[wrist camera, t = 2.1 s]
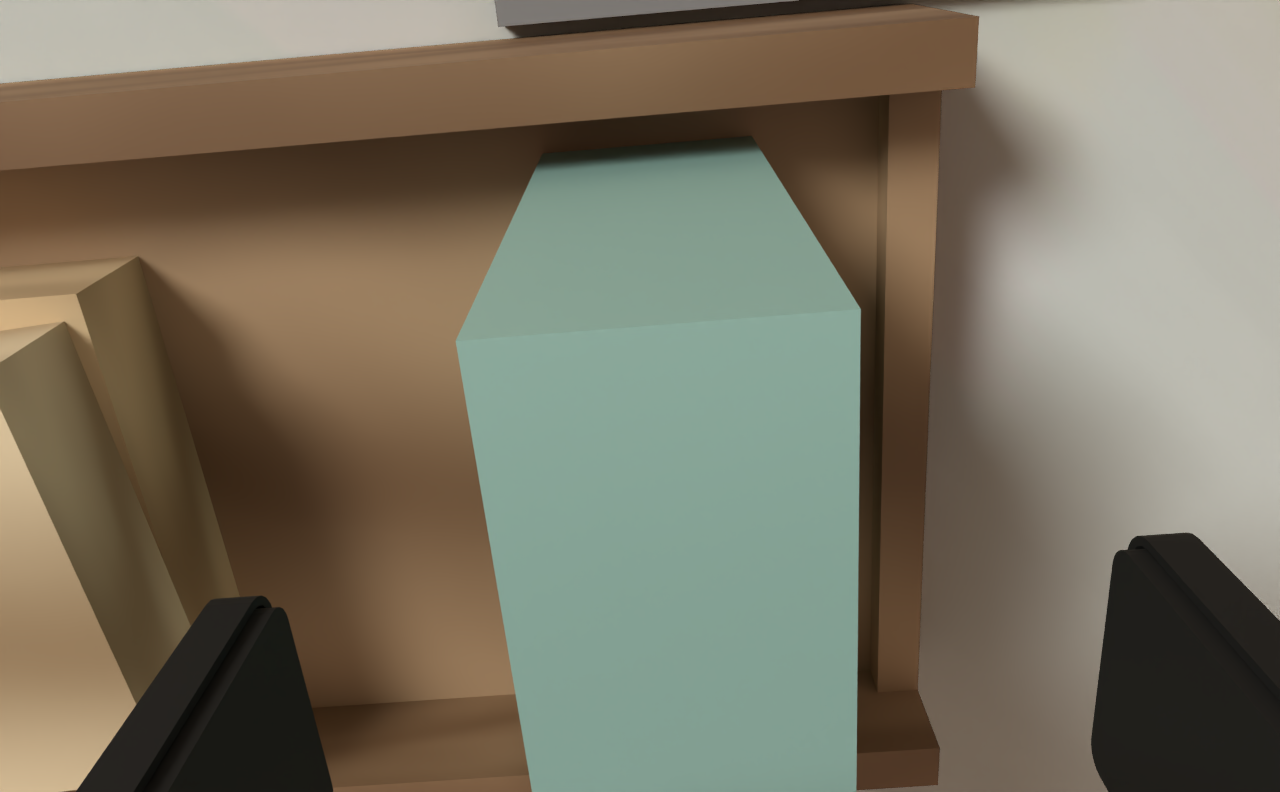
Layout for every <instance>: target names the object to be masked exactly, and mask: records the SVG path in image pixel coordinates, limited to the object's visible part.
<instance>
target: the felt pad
mask: <svg viewBox="0 0 1280 792" xmlns="http://www.w3.org/2000/svg"><path fill="white" fill-rule="evenodd" d="M785 1H797V0H495V6H496V13H497V21H498V27H503V26H514V25H525V24H537V23H548V22H559V21H571V20H582V19H593V18H604V17H616V16H627V15H638V14H650V13H661V12H672V11H684V10H695V9H706V8H717V7H729V6H740V5H751V4H763V3H774V2H785Z"/></svg>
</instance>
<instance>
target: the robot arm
mask: <svg viewBox="0 0 1280 792" xmlns="http://www.w3.org/2000/svg"><path fill="white" fill-rule="evenodd" d="M1091 746H1092V754H1093V759H1094V763H1095V766H1096V769H1097V771H1098V773H1099V776H1100V777H1101V779H1102V781H1103V783H1104V785H1105V786H1106V788H1107V790H1108V792H1280V621H1279V620H1278V619H1277V618H1276V617H1275V616H1274V615H1273V614H1272V613H1271V612H1270V611H1269V610H1268V609H1267V608H1266V606H1265V605H1264V604H1263V603H1262V602H1261V601H1260V600H1259V599H1258V598H1257V597H1256V596H1255V595H1254V594H1253V593H1252V592H1251V591H1250V590H1249V589H1248V588H1247V587H1246V586H1245V585H1244V584H1243V583H1242V582H1241V581H1240V580H1239V579H1238V578H1237V577H1236V576H1235V575H1234V574H1233V573H1232V572H1231V571H1230V570H1229V569H1228V568H1227V567H1226V566H1225V565H1224V564H1223V563H1222V562H1221V561H1220V560H1219V559H1218V558H1217V557H1216V556H1215V555H1214V554H1213V553H1212V552H1211V550H1210V549H1209V548H1208V547H1207V546H1206V545H1205V544H1204V543H1203V542H1202V541H1201V540H1200V539H1199V538H1197V537H1196V536H1195V535H1193V534H1191V533H1175V534H1161V535H1146V536H1137V537H1135V538H1133V539H1132V541H1131V542H1130V544H1129V547H1128V550H1120V551H1118V552H1117V553H1116V555H1115V556H1114V560H1113V565H1112V573H1111V581H1110V589H1109V598H1108V606H1107V614H1106V622H1105V631H1104V639H1103V647H1102V655H1101V663H1100V672H1099V680H1098V688H1097V696H1096V705H1095V713H1094V721H1093V729H1092V738H1091ZM76 792H333V786H332V782H331V778H330V774H329V770H328V766H327V763H326V759H325V755H324V751H323V748H322V744H321V740H320V736H319V733H318V729H317V725H316V721H315V718H314V714H313V710H312V706H311V702H310V699H309V695H308V691H307V687H306V684H305V680H304V676H303V672H302V669H301V665H300V661H299V657H298V654H297V650H296V646H295V642H294V638H293V635H292V631H291V627H290V623H289V620H288V617H287V614H286V612H285V611H284V609H283V608H281V607H272V606H271V603H270V602H269V600H268V599H267V598H266V597H264V596H262V595H261V596H246V597H232V598H217V599H213V600H210V601H209V602H208V603H207V604H206V605H205V607H204V608H203V610H202V611H201V613H200V614H199V615H198V617H197V618H196V620H195V621H194V623H193V624H192V625H191V627H190V628H189V630H188V631H187V633H186V634H185V635H184V637H183V638H182V640H181V641H180V643H179V644H178V646H177V647H176V648H175V650H174V651H173V653H172V654H171V656H170V657H169V658H168V660H167V661H166V663H165V664H164V666H163V667H162V669H161V670H160V671H159V673H158V674H157V676H156V677H155V679H154V680H153V681H152V683H151V684H150V686H149V687H148V689H147V690H146V692H145V693H144V694H143V696H142V697H141V699H140V700H139V702H138V703H137V704H136V706H135V707H134V709H133V710H132V712H131V713H130V714H129V716H128V717H127V719H126V720H125V722H124V723H123V725H122V726H121V727H120V729H119V730H118V732H117V733H116V735H115V736H114V737H113V739H112V740H111V742H110V743H109V745H108V746H107V748H106V749H105V750H104V752H103V753H102V755H101V756H100V758H99V759H98V760H97V762H96V763H95V765H94V766H93V768H92V769H91V771H90V772H89V773H88V775H87V776H86V778H85V779H84V781H83V782H82V783H81V785H80V786H79V788H78V789H77V791H76Z"/></svg>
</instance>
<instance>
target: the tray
mask: <svg viewBox="0 0 1280 792" xmlns="http://www.w3.org/2000/svg"><path fill="white" fill-rule="evenodd" d="M978 25H979V16H973V15H968V14H963V13H957V12H952V11H947V10H942V9H936V8H931V7H926V6H920V5H915V4H899V5H888V6H876V7H865V8H854V9H842V10H831V11H820V12H808V13H797V14H786V15H774V16H763V17H752V18H740V19H729V20H717V21H706V22H695V23H683V24H672V25H661V26H649V27H638V28H627V29H615V30H604V31H593V32H581V33H570V34H558V35H547V36H536V37H524V38H513V39H502V40H490V41H479V42H468V43H456V44H445V45H434V46H422V47H411V48H400V49H388V50H377V51H365V52H354V53H343V54H331V55H320V56H309V57H297V58H286V59H275V60H263V61H252V62H241V63H229V64H218V65H206V66H195V67H184V68H172V69H161V70H150V71H138V72H127V73H116V74H104V75H93V76H82V77H70V78H59V79H48V80H36V81H25V82H13V83H2V84H0V267H10V266H22V265H35V264H47V263H59V262H71V261H83V260H95V259H107V258H120V257H132V256H138V257H139V261H140V264H141V267H142V271H143V274H144V277H145V281H146V284H147V287H148V291H149V294H150V297H151V301H152V304H153V307H154V311H155V314H156V317H157V321H158V324H159V328H160V331H161V334H162V338H163V341H164V344H165V348H166V351H167V354H168V358H169V361H170V364H171V368H172V371H173V374H174V378H175V381H176V385H177V388H178V391H179V395H180V398H181V401H182V405H183V408H184V411H185V415H186V418H187V421H188V425H189V428H190V431H191V435H192V438H193V441H194V445H195V448H196V452H197V455H198V458H199V462H200V465H201V468H202V472H203V475H204V478H205V482H206V485H207V488H208V492H209V495H210V498H211V502H212V505H213V509H214V512H215V515H216V519H217V522H218V525H219V529H220V532H221V535H222V539H223V542H224V545H225V549H226V552H227V555H228V559H229V562H230V565H231V569H232V572H233V576H234V579H235V582H236V586H237V589H238V592H239V596H240V597H246V596H261V595H262V596H264V597H266V598H267V599H268V600H269V602H270V603H271V606H272V607H281V608H283V609H284V611H285V612H286V614H287V617H288V620H289V623H290V627H291V631H292V635H293V638H294V642H295V646H296V650H297V654H298V657H299V661H300V665H301V669H302V672H303V676H304V680H305V684H306V687H307V691H308V695H309V699H310V702H311V706H312V710H313V714H314V718H315V721H316V725H317V729H318V733H319V736H320V740H321V744H322V748H323V751H324V755H325V759H326V763H327V766H328V770H329V774H330V778H331V782H332V786H333V792H532V789H531V783H530V777H529V771H528V765H527V759H526V753H525V747H524V742H523V736H522V730H521V724H520V718H519V712H518V706H517V700H516V694H515V689H514V683H513V677H512V671H511V665H510V659H509V653H508V647H507V641H506V635H505V630H504V624H503V618H502V612H501V606H500V600H499V594H498V588H497V582H496V576H495V571H494V565H493V559H492V553H491V547H490V541H489V535H488V529H487V523H486V517H485V512H484V506H483V500H482V494H481V488H480V482H479V476H478V470H477V464H476V459H475V453H474V447H473V441H472V435H471V429H470V423H469V417H468V411H467V405H466V400H465V394H464V388H463V382H462V376H461V370H460V364H459V358H458V352H457V346H456V339H457V337H458V335H459V333H460V330H461V328H462V326H463V324H464V322H465V320H466V317H467V315H468V313H469V311H470V309H471V307H472V305H473V302H474V300H475V298H476V296H477V294H478V292H479V289H480V287H481V285H482V283H483V281H484V279H485V276H486V274H487V272H488V270H489V268H490V266H491V264H492V261H493V259H494V257H495V255H496V253H497V251H498V248H499V246H500V244H501V242H502V240H503V238H504V236H505V233H506V231H507V229H508V227H509V225H510V223H511V220H512V218H513V216H514V214H515V212H516V210H517V207H518V205H519V203H520V201H521V199H522V197H523V195H524V192H525V190H526V188H527V186H528V184H529V182H530V179H531V177H532V175H533V173H534V171H535V169H536V167H537V164H538V162H539V160H540V158H541V156H542V154H543V153H555V152H567V151H579V150H591V149H602V148H614V147H626V146H638V145H650V144H662V143H673V142H685V141H697V140H709V139H721V138H733V137H745V136H752V137H753V139H754V140H755V142H756V143H757V145H758V146H759V148H760V150H761V151H762V153H763V154H764V156H765V158H766V159H767V161H768V162H769V164H770V166H771V167H772V169H773V170H774V172H775V174H776V175H777V177H778V178H779V180H780V181H781V183H782V185H783V186H784V188H785V189H786V191H787V193H788V194H789V196H790V197H791V199H792V201H793V202H794V204H795V205H796V207H797V208H798V210H799V212H800V213H801V215H802V216H803V218H804V220H805V221H806V223H807V224H808V226H809V228H810V229H811V231H812V232H813V234H814V236H815V237H816V239H817V240H818V242H819V243H820V245H821V247H822V248H823V250H824V251H825V253H826V255H827V256H828V258H829V259H830V261H831V263H832V264H833V266H834V267H835V269H836V270H837V272H838V274H839V275H840V277H841V278H842V280H843V282H844V283H845V285H846V286H847V288H848V290H849V291H850V293H851V294H852V296H853V298H854V299H855V301H856V302H857V304H858V305H859V307H860V309H861V336H860V446H859V556H858V667H857V777H856V790H866V789H881V788H897V787H912V786H928V785H938V771H939V752H940V748H939V745H938V742H937V740H936V737H935V734H934V732H933V729H932V727H931V724H930V721H929V719H928V716H927V713H926V711H925V708H924V706H923V703H922V700H921V698H920V695H919V692H918V690H917V689H918V665H919V640H920V615H921V590H922V566H923V541H924V516H925V492H926V467H927V442H928V417H929V393H930V368H931V343H932V318H933V294H934V269H935V244H936V220H937V195H938V170H939V145H940V121H941V96H942V90H950V89H962V88H974V87H975V81H976V63H977V44H978ZM76 791H77V790H71V791H63V792H76Z"/></svg>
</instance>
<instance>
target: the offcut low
mask: <svg viewBox="0 0 1280 792" xmlns="http://www.w3.org/2000/svg"><path fill="white" fill-rule="evenodd" d="M62 321H64V322H65V324H66V327H67V329H68V332H69V334H70V336H71V339H72V341H73V344H74V346H75V348H76V351H77V353H78V356H79V358H80V361H81V363H82V365H83V368H84V370H85V373H86V375H87V377H88V380H89V382H90V385H91V387H92V389H93V392H94V394H95V397H96V399H97V402H98V404H99V406H100V409H101V411H102V414H103V416H104V418H105V421H106V423H107V426H108V428H109V430H110V433H111V435H112V438H113V440H114V443H115V445H116V447H117V450H118V452H119V455H120V457H121V459H122V462H123V464H124V467H125V469H126V472H127V474H128V476H129V479H130V481H131V484H132V486H133V488H134V491H135V493H136V496H137V498H138V500H139V503H140V505H141V508H142V510H143V513H144V515H145V517H146V520H147V522H148V525H149V527H150V529H151V532H152V534H153V537H154V539H155V541H156V544H157V546H158V549H159V551H160V554H161V556H162V558H163V561H164V563H165V566H166V568H167V570H168V573H169V575H170V578H171V580H172V582H173V585H174V587H175V590H176V592H177V595H178V597H179V599H180V602H181V604H182V607H183V609H184V611H185V614H186V616H187V619H188V621H189V623H190V626H191V625H192V624H193V623H194V621H195V620H196V618H197V617H198V615H199V614H200V613H201V611H202V610H203V608H204V607H205V605H206V604H207V603H208V602H209V601H210V600H213V599H217V598H232V597H240V596H239V592H238V589H237V586H236V582H235V579H234V576H233V572H232V569H231V565H230V562H229V559H228V555H227V552H226V549H225V545H224V542H223V539H222V535H221V532H220V529H219V525H218V522H217V519H216V515H215V512H214V509H213V505H212V502H211V498H210V495H209V492H208V488H207V485H206V482H205V478H204V475H203V472H202V468H201V465H200V462H199V458H198V455H197V452H196V448H195V445H194V441H193V438H192V435H191V431H190V428H189V425H188V421H187V418H186V415H185V411H184V408H183V405H182V401H181V398H180V395H179V391H178V388H177V385H176V381H175V378H174V374H173V371H172V368H171V364H170V361H169V358H168V354H167V351H166V348H165V344H164V341H163V338H162V334H161V331H160V328H159V324H158V321H157V317H156V314H155V311H154V307H153V304H152V301H151V297H150V294H149V291H148V287H147V284H146V281H145V277H144V274H143V271H142V267H141V264H140V261H139V257H138V256H132V257H120V258H107V259H95V260H83V261H71V262H59V263H47V264H35V265H22V266H10V267H0V331H2V330H9V329H16V328H22V327H29V326H35V325H42V324H49V323H55V322H62Z"/></svg>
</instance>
